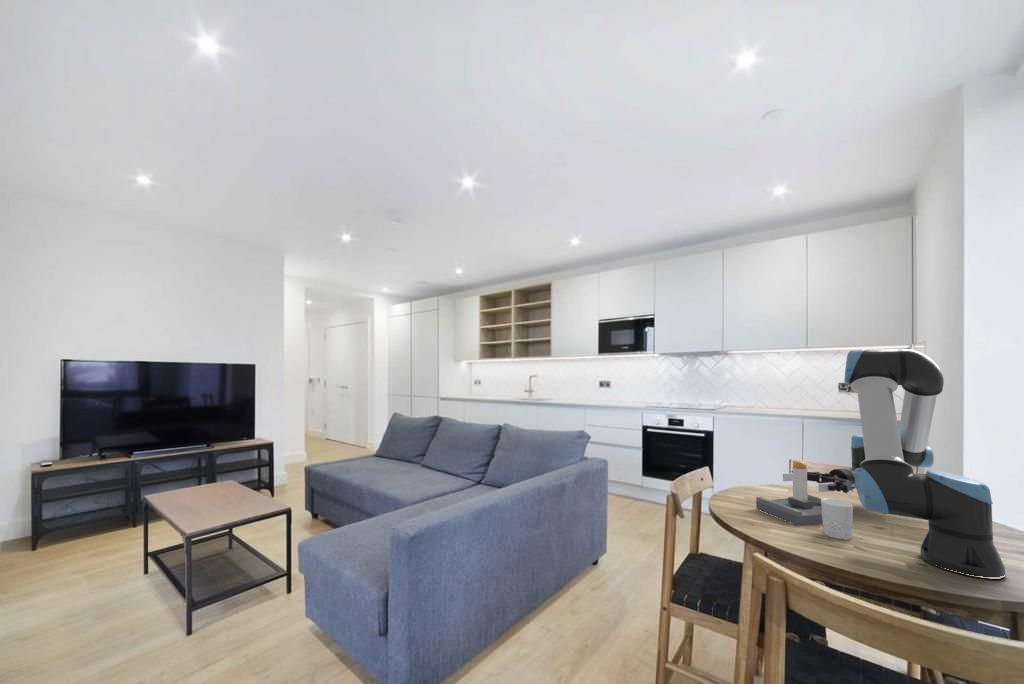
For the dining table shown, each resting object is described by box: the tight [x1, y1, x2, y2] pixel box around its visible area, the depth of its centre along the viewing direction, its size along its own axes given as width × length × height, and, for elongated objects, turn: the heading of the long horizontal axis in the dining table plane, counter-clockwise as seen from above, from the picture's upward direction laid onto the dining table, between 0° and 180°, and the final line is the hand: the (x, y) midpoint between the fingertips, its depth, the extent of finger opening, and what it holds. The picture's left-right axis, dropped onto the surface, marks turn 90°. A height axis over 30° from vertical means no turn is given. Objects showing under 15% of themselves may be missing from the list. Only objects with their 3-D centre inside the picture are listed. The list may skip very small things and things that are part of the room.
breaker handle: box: [787, 460, 813, 508], centre depth 147 cm, size 6×4×15 cm, turn 16°
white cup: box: [820, 498, 854, 541], centre depth 129 cm, size 8×8×10 cm
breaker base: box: [755, 494, 823, 527], centre depth 146 cm, size 16×22×4 cm
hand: (800, 482), depth 148 cm, fingers open, 13 cm apart
